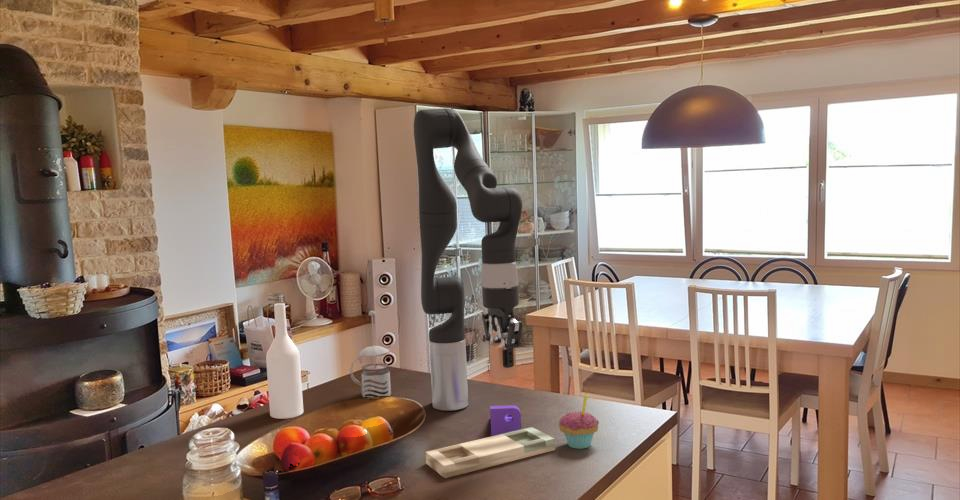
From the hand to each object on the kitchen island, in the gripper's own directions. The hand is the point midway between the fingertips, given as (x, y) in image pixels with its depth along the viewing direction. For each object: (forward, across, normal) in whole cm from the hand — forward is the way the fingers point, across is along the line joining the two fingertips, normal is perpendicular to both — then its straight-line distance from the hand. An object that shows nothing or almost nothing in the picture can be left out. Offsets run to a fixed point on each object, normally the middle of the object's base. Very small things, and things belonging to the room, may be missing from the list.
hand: (503, 364), depth 146 cm
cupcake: (+19, +5, +15) cm, 25 cm away
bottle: (+19, -49, -36) cm, 64 cm away
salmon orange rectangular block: (+3, 0, 0) cm, 3 cm away
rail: (+19, 0, -4) cm, 19 cm away
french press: (+20, -52, -13) cm, 57 cm away
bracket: (+20, -14, +7) cm, 25 cm away
